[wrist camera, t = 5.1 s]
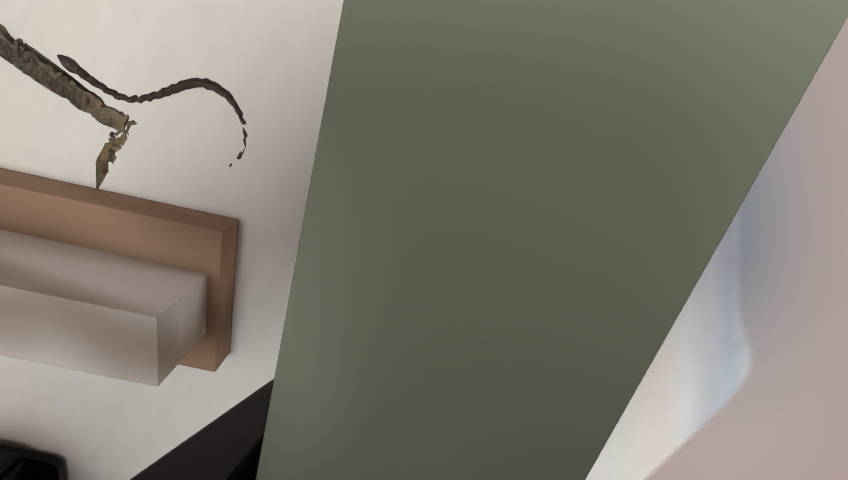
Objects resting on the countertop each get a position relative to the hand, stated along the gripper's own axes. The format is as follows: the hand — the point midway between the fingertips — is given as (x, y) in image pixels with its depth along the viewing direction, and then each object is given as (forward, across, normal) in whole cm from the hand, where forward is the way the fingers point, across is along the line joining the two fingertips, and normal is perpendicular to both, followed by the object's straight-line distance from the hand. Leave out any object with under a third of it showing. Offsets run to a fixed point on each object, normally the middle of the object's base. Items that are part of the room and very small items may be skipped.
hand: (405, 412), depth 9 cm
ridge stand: (+11, +17, +5) cm, 21 cm away
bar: (+1, 0, 0) cm, 1 cm away
